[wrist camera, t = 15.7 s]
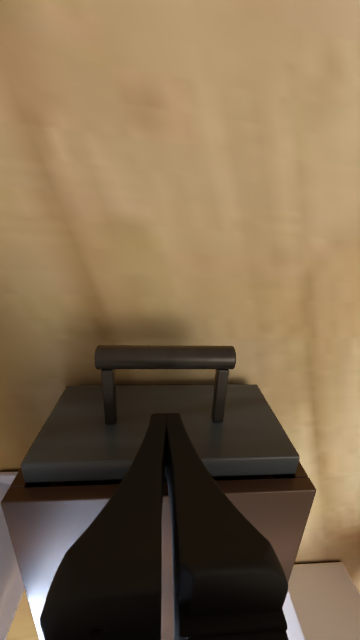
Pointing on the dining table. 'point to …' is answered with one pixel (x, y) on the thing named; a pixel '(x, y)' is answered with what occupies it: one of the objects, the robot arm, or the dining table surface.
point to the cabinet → (88, 500)
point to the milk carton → (322, 603)
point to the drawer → (143, 400)
